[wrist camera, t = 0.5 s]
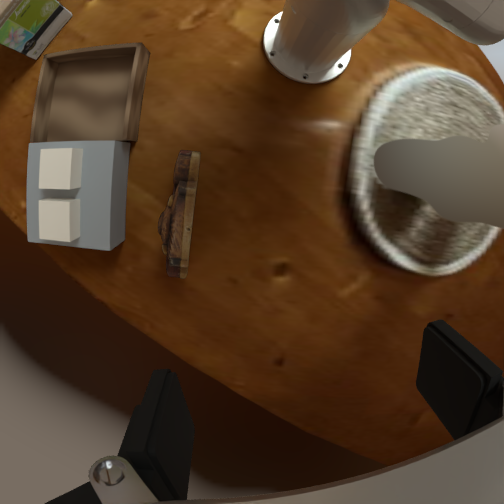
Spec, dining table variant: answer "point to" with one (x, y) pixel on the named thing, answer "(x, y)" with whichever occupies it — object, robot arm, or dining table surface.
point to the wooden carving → (180, 214)
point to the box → (90, 94)
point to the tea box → (31, 24)
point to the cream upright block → (59, 219)
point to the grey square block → (86, 193)
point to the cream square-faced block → (60, 168)
